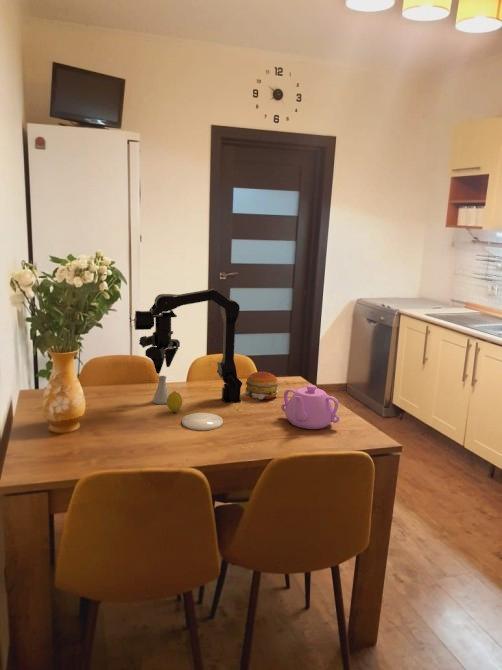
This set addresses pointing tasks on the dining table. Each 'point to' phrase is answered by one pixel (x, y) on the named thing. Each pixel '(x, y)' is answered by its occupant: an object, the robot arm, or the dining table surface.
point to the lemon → (174, 401)
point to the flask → (161, 391)
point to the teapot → (310, 408)
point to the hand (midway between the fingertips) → (163, 370)
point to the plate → (202, 421)
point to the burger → (262, 385)
